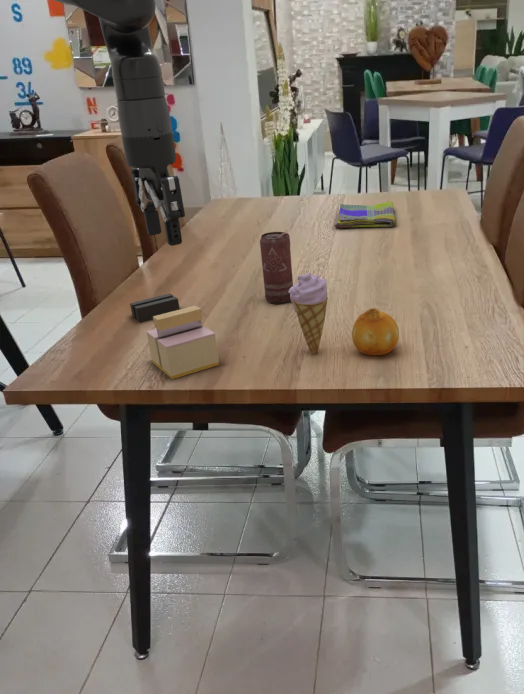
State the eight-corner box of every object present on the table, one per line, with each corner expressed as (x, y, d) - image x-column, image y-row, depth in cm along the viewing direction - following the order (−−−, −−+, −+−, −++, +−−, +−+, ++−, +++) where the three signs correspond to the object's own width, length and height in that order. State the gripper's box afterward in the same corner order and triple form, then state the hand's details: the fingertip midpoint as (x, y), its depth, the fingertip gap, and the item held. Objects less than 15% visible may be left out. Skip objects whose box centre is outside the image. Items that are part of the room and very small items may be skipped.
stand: (139, 322, 142) (137, 308, 140) (132, 316, 145) (129, 303, 143) (180, 311, 146) (178, 298, 144) (172, 306, 149) (170, 293, 147)
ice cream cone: (293, 360, 121) (286, 277, 114) (293, 346, 126) (286, 266, 119) (331, 357, 121) (326, 274, 114) (329, 344, 127) (325, 263, 119)
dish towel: (395, 208, 217) (395, 199, 215) (395, 228, 196) (395, 218, 194) (339, 210, 218) (339, 201, 217) (333, 230, 198) (333, 220, 196)
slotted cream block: (171, 379, 117) (166, 346, 114) (152, 362, 124) (146, 331, 121) (219, 364, 121) (215, 333, 118) (198, 349, 128) (193, 318, 125)
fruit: (345, 349, 118) (368, 309, 115) (342, 335, 125) (364, 296, 122) (386, 370, 120) (410, 331, 117) (382, 355, 127) (404, 317, 124)
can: (300, 299, 148) (295, 234, 141) (274, 306, 145) (268, 240, 138) (286, 292, 153) (281, 228, 146) (260, 299, 150) (254, 234, 143)
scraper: (166, 368, 120) (157, 319, 115) (161, 364, 121) (152, 316, 117) (208, 356, 123) (201, 308, 119) (202, 352, 125) (195, 305, 120)
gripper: (107, 130, 107) (127, 235, 115) (139, 138, 96) (159, 253, 105) (152, 125, 110) (169, 227, 118) (189, 131, 100) (204, 243, 108)
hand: (164, 239), depth 111 cm, fingers open, 8 cm apart
